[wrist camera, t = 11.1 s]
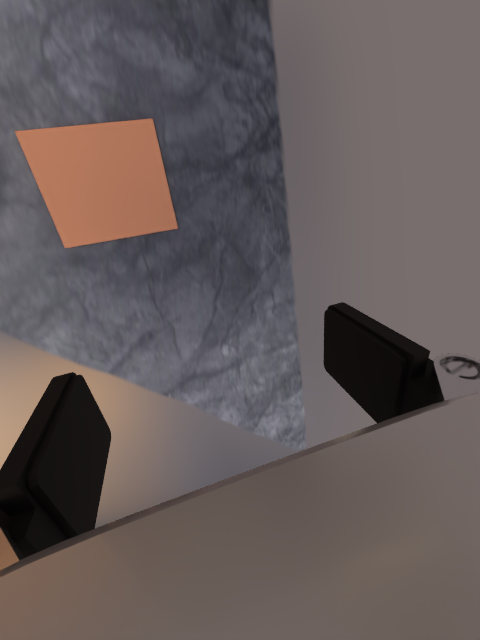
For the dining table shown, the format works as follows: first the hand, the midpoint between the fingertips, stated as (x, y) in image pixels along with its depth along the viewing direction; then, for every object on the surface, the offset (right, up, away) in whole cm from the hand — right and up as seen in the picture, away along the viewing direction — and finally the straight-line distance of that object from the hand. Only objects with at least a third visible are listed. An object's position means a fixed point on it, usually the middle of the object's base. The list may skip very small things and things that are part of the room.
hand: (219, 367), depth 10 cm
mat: (-15, +18, +22) cm, 32 cm away
